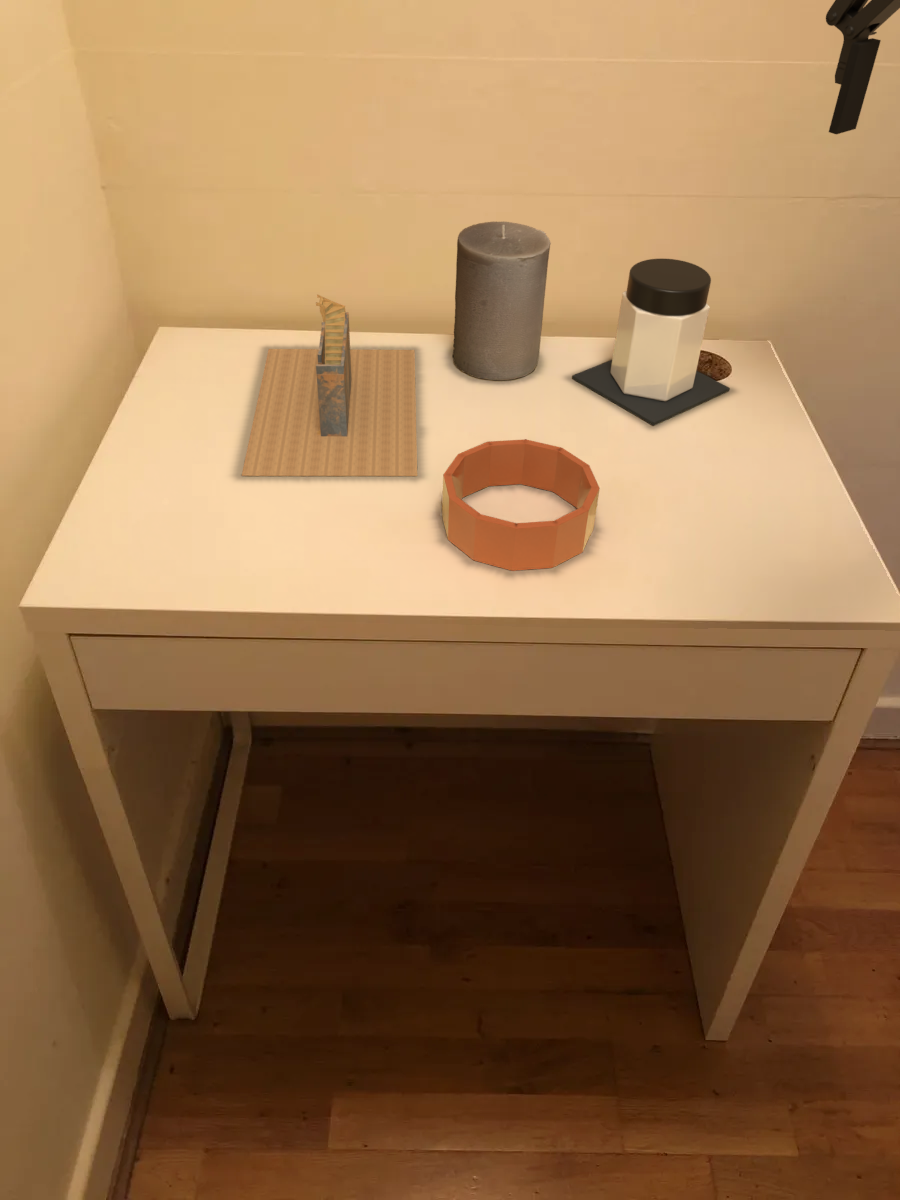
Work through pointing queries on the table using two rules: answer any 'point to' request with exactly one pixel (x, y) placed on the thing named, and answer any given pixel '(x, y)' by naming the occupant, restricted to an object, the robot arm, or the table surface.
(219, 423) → the table surface
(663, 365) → the jar
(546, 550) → the ring
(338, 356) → the ruin model on sheet
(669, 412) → the mat
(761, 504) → the table surface
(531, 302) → the pillar candle
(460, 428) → the table surface
